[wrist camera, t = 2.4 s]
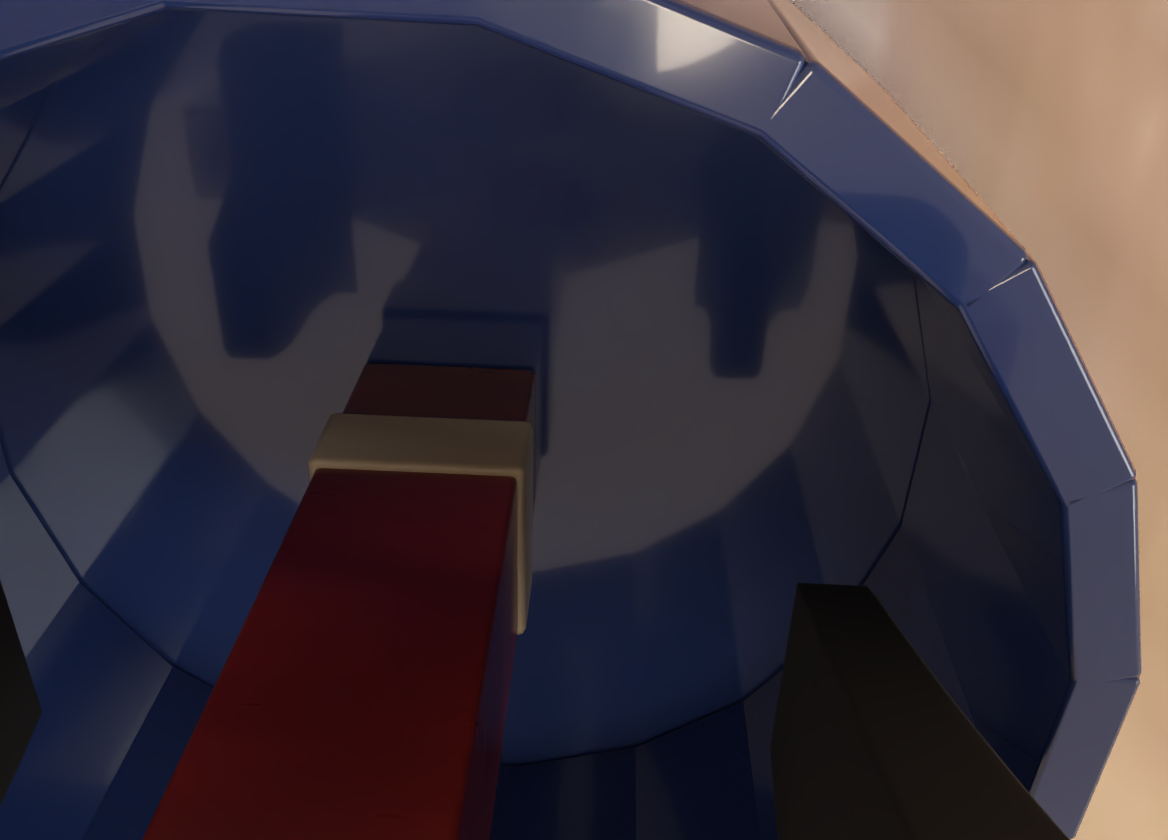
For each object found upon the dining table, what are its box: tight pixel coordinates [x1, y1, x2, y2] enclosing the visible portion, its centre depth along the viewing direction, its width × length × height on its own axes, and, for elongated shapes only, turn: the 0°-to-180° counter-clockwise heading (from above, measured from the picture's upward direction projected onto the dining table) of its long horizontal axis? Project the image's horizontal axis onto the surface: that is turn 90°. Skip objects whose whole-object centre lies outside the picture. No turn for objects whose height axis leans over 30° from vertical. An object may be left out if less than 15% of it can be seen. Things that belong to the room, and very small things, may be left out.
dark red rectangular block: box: [142, 363, 535, 840], centre depth 9 cm, size 2×2×8 cm
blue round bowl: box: [0, 0, 1141, 840], centre depth 11 cm, size 12×12×5 cm
